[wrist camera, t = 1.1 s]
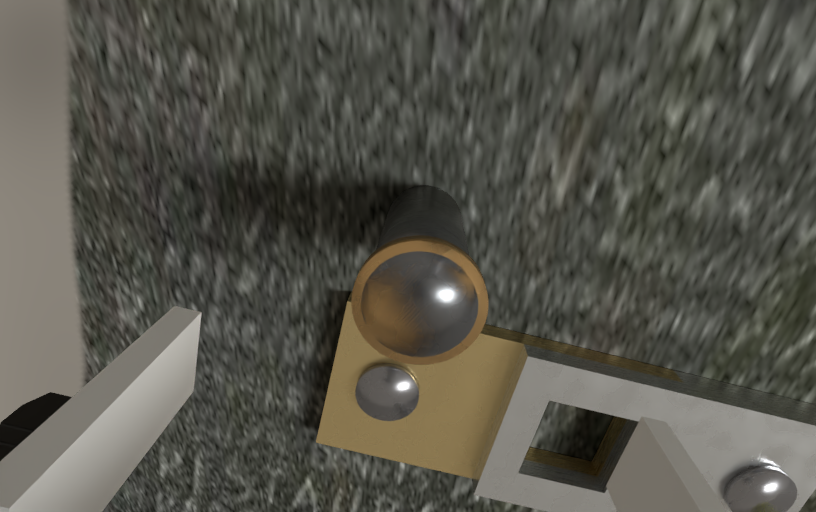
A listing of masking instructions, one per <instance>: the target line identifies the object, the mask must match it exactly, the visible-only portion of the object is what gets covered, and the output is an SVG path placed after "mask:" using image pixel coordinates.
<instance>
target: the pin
mask: <svg viewBox="0 0 816 512" xmlns="http://www.w3.org/2000/svg"><path fill="white" fill-rule="evenodd" d="M351 307H352V314H353V317H354V321H355V323H356V326H357V328H358V330H359V332H360V333H361V335H362V336H363V338H364V339H365V340H366V341H367V342H368V343H369V344H370V345H371V346H372V347H373V348H374V349H375V350H377V351H378V352H379V353H381V354H383V355H384V356H386V357H388V358H390V359H393V360H395V361H398V362H402V363H406V364H412V365H430V364H436V363H440V362H444V361H446V360H449V359H451V358H454V357H455V356H457V355H459V354H461V353H462V352H463V351H465V350H466V349H467V348H468V347H469V346H470V345H471V344H473V342H474V341H475V340H476V339H477V337H478V336H479V334H480V333H481V331H482V329H483V327H484V324H485V322H486V318H487V314H488V295H487V290H486V286H485V282H484V279H483V276H482V274H481V272H480V270H479V268H478V266H477V265H476V263H475V262H474V260H473V259H472V258H471V257H470V256H469V252H468V247H467V242H466V237H465V232H464V227H463V222H462V217H461V212H460V210H459V207H458V205H457V203H456V202H455V200H454V199H453V198H452V197H451V196H450V195H449V194H448V193H446V192H445V191H443V190H441V189H439V188H436V187H432V186H417V187H413V188H410V189H408V190H406V191H404V192H402V193H401V194H400V195H399V196H398V197H397V198H396V199H395V200H394V201H393V203H392V204H391V206H390V209H389V211H388V215H387V218H386V221H385V224H384V227H383V230H382V233H381V236H380V239H379V242H378V245H377V248H376V251H375V252H373V253H372V254H371V255H370V256H369V258H368V259H367V260H366V261H365V263H364V264H363V266H362V267H361V269H360V271H359V273H358V276H357V278H356V281H355V284H354V287H353V291H352V298H351Z"/></svg>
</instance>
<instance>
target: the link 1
mask: <svg viewBox="0 0 816 512" xmlns="http://www.w3.org/2000/svg"><path fill="white" fill-rule="evenodd" d="M351 298H352V292H351V293H350V296H349V298H348V301H347V305H346V310H345V314H344V319H343V323H342V328H341V332H340V337H339V341H338V346H337V350H336V355H335V359H334V364H333V368H332V373H331V377H330V382H329V386H328V391H327V395H326V399H325V404H324V408H323V413H322V417H321V422H320V426H319V431H318V435H317V440H316V443H320V444H325V445H329V446H333V447H338V448H342V449H346V450H351V451H355V452H360V453H364V454H368V455H373V456H377V457H381V458H386V459H390V460H394V461H399V462H403V463H407V464H412V465H416V466H420V467H425V468H429V469H433V470H438V471H442V472H447V473H451V474H455V475H460V476H464V477H468V478H472V477H473V475H474V472H475V470H476V467H477V464H478V462H479V459H480V457H481V454H482V451H483V449H484V446H485V444H486V441H487V438H488V436H489V433H490V431H491V428H492V425H493V423H494V420H495V418H496V415H497V412H498V410H499V407H500V405H501V402H502V399H503V397H504V394H505V392H506V389H507V386H508V384H509V381H510V379H511V376H512V373H513V371H514V368H515V366H516V363H517V360H518V358H519V355H520V353H521V350H522V347H523V345H524V344H526V345H530V346H534V347H538V348H542V349H546V350H551V351H555V352H559V353H563V354H567V355H571V356H575V357H579V358H584V359H588V360H592V361H596V362H600V363H604V364H608V365H612V366H617V367H621V368H625V369H629V370H633V371H637V372H641V373H645V374H650V375H654V376H658V377H662V378H666V379H670V380H674V381H678V382H683V381H682V380H681V379H680V378H679V376H678V375H677V374H676V373H675V372H674V370H671V369H667V368H663V367H659V366H655V365H651V364H646V363H642V362H638V361H634V360H630V359H626V358H622V357H618V356H614V355H610V354H605V353H601V352H597V351H593V350H589V349H585V348H581V347H577V346H573V345H568V344H564V343H560V342H556V341H552V340H548V339H544V338H540V337H536V336H531V335H527V334H523V333H519V332H515V331H511V330H507V329H503V328H499V327H495V326H490V325H486V324H484V327H483V329H482V331H481V333H480V334H479V336H478V337H477V339H476V340H475V341H474V342H473V344H471V345H470V346H469V347H468V348H467V349H466V350H465V351H463V352H462V353H461V354H459V355H457V356H455V357H454V358H451V359H449V360H446V361H444V362H440V363H436V364H430V365H412V364H406V363H402V362H398V361H395V360H393V359H390V358H388V357H386V356H384V355H383V354H381V353H379V352H378V351H377V350H375V349H374V348H373V347H372V346H371V345H370V344H369V343H368V342H367V341H366V340H365V339H364V338H363V336H362V335H361V333H360V332H359V330H358V328H357V326H356V323H355V321H354V317H353V314H352V307H351ZM626 420H627V419H626V418H621V417H617V416H614V417H613V419H612V421H611V423H610V425H609V427H608V429H607V432H606V434H605V436H604V438H603V440H602V442H601V444H600V446H599V448H598V450H597V452H596V454H595V456H594V458H593V460H592V461H588V460H584V459H579V458H575V457H571V456H566V455H562V454H558V453H554V452H549V451H545V450H541V449H537V448H532V447H529V449H528V451H527V453H526V456H525V458H524V460H529V461H533V462H537V463H542V464H546V465H550V466H554V467H559V468H563V469H567V470H572V471H576V472H580V473H585V474H589V475H593V476H597V477H598V476H599V474H600V472H601V470H602V468H603V466H604V464H605V462H606V460H607V458H608V456H609V454H610V452H611V450H612V448H613V446H614V444H615V442H616V440H617V438H618V436H619V434H620V432H621V430H622V428H623V426H624V424H625V422H626Z"/></svg>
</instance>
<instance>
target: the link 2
mask: <svg viewBox="0 0 816 512" xmlns="http://www.w3.org/2000/svg"><path fill="white" fill-rule="evenodd" d="M674 372H675V373H676V374H677V375H678V376H679V378H680V379H681V380H682V381H683V382H678V381H674V380H670V379H666V378H662V377H658V376H654V375H650V374H645V373H641V372H637V371H633V370H629V369H625V368H621V367H617V366H612V365H608V364H604V363H600V362H596V361H592V360H588V359H584V358H579V357H575V356H571V355H567V354H563V353H559V352H555V351H551V350H546V349H542V348H538V347H534V346H530V345H526V344H524V345H523V347H522V350H521V353H520V355H519V358H518V360H517V363H516V366H515V368H514V371H513V373H512V376H511V379H510V381H509V384H508V386H507V389H506V392H505V394H504V397H503V399H502V402H501V405H500V407H499V410H498V412H497V415H496V418H495V420H494V423H493V425H492V428H491V431H490V433H489V436H488V438H487V441H486V444H485V446H484V449H483V451H482V454H481V457H480V459H479V462H478V464H477V467H476V470H475V472H474V475H473V477H472V482H473V492H474V495H477V496H482V497H486V498H491V499H495V500H499V501H504V502H508V503H512V504H517V505H521V506H526V507H530V508H534V509H539V510H543V511H547V512H617V510H616V508H615V505H614V503H613V501H612V498H611V496H610V494H609V491H608V489H607V487H606V485H607V483H608V481H609V479H610V477H611V475H612V473H613V471H614V469H615V467H616V465H617V463H618V461H619V459H620V457H621V455H622V454H623V452H624V450H625V448H626V446H627V444H628V442H629V440H630V438H631V436H632V434H633V432H634V430H635V428H636V426H637V424H638V422H639V420H640V418H641V416H643V417H647V418H651V419H655V420H660V421H664V422H667V424H668V425H669V427H670V428H671V430H672V431H673V433H674V434H675V436H676V437H677V439H678V440H679V442H680V443H681V444H682V446H683V447H684V449H685V450H686V452H687V453H688V455H689V456H690V458H691V459H692V461H693V462H694V464H695V465H696V466H697V468H698V469H699V471H700V472H701V474H702V475H703V477H704V478H705V480H706V481H707V483H708V484H709V486H710V487H711V489H712V490H713V491H714V493H715V494H716V496H717V497H718V499H719V500H720V502H721V503H722V505H723V506H724V508H725V509H726V511H727V512H799V511H800V509H801V508H802V506H803V505H804V504H805V502H806V501H807V500H808V498H809V497H810V495H811V494H812V493H813V491H814V490H815V489H816V405H815V404H811V403H807V402H803V401H798V400H794V399H790V398H786V397H782V396H778V395H774V394H770V393H766V392H761V391H757V390H753V389H749V388H745V387H741V386H737V385H733V384H729V383H724V382H720V381H716V380H712V379H708V378H704V377H700V376H696V375H692V374H688V373H683V372H679V371H675V370H674ZM549 400H550V401H554V402H558V403H563V404H567V405H571V406H575V407H579V408H584V409H588V410H592V411H596V412H600V413H605V414H609V415H613V416H617V417H621V418H626V419H627V420H626V422H625V424H624V426H623V428H622V430H621V432H620V434H619V436H618V438H617V440H616V442H615V444H614V446H613V448H612V450H611V452H610V454H609V456H608V458H607V460H606V462H605V464H604V466H603V468H602V470H601V472H600V474H599V476H598V477H597V476H593V475H589V474H585V473H580V472H576V471H572V470H567V469H563V468H559V467H554V466H550V465H546V464H542V463H537V462H533V461H529V460H524V458H525V456H526V453H527V451H528V449H529V446H530V444H531V442H532V439H533V437H534V435H535V432H536V430H537V428H538V425H539V423H540V421H541V418H542V416H543V414H544V411H545V409H546V406H547V404H548V402H549Z"/></svg>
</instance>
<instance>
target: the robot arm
mask: <svg viewBox="0 0 816 512" xmlns="http://www.w3.org/2000/svg"><path fill="white" fill-rule="evenodd" d="M200 321H201V312H198V311H194V310H189V309H185V308H181V307H177V306H174V307H173V308H172V309H171V310H170V311H168V312H167V313H166V314H165V315H164V316H163V317H162V318H161V319H159V320H158V321H157V322H156V323H155V324H154V325H153V326H152V327H150V328H149V329H148V330H147V331H146V332H145V333H144V334H143V335H142V336H140V337H139V338H138V339H137V340H136V341H135V342H134V343H133V344H131V345H130V346H129V347H128V348H127V349H126V350H125V351H124V352H122V353H121V354H120V355H119V356H118V357H117V358H116V359H115V360H113V361H112V362H111V363H110V364H109V365H108V366H107V367H106V368H104V369H103V370H102V371H101V372H100V373H99V374H98V375H97V376H95V377H94V378H93V379H92V380H91V381H90V382H89V383H88V384H86V385H85V386H84V387H83V388H82V389H81V390H80V391H79V392H77V393H76V394H75V395H74V396H73V397H69V396H64V395H60V394H56V393H51V392H50V393H48V394H46V395H43V396H41V397H39V398H37V399H35V400H32V401H30V402H28V403H26V404H24V405H22V406H21V407H19V408H18V409H17V410H16V411H14V412H13V413H12V414H11V415H9V416H8V417H7V418H6V419H4V420H3V421H2V422H1V424H0V512H102V511H103V509H104V508H105V507H106V506H107V504H108V503H109V502H110V500H111V499H112V498H113V496H114V495H115V494H116V492H117V491H118V490H119V488H120V487H121V486H122V484H123V483H124V482H125V481H126V479H127V478H128V477H129V475H130V474H131V473H132V471H133V470H134V469H135V467H136V466H137V465H138V463H139V462H140V461H141V459H142V458H143V457H144V455H145V454H146V453H147V452H148V450H149V449H150V448H151V446H152V445H153V444H154V442H155V441H156V440H157V438H158V437H159V436H160V434H161V433H162V432H163V430H164V429H165V428H166V427H167V425H168V424H169V423H170V421H171V420H172V419H173V417H174V416H175V415H176V413H177V412H178V411H179V409H180V408H181V407H182V405H183V404H184V403H185V401H186V400H187V399H188V398H189V396H190V395H191V394H192V392H193V390H194V380H195V371H196V361H197V351H198V341H199V331H200ZM606 487H607V489H608V491H609V494H610V496H611V498H612V501H613V503H614V505H615V508H616V510H617V512H727V511H726V509H725V508H724V506H723V505H722V503H721V502H720V500H719V499H718V497H717V496H716V494H715V493H714V491H713V490H712V489H711V487H710V486H709V484H708V483H707V481H706V480H705V478H704V477H703V475H702V474H701V472H700V471H699V469H698V468H697V466H696V465H695V464H694V462H693V461H692V459H691V458H690V456H689V455H688V453H687V452H686V450H685V449H684V447H683V446H682V444H681V443H680V442H679V440H678V439H677V437H676V436H675V434H674V433H673V431H672V430H671V428H670V427H669V425H668V424H667V422H664V421H660V420H655V419H651V418H647V417H643V416H641V418H640V420H639V422H638V424H637V426H636V428H635V430H634V432H633V434H632V436H631V438H630V440H629V442H628V444H627V446H626V448H625V450H624V452H623V454H622V455H621V457H620V459H619V461H618V463H617V465H616V467H615V469H614V471H613V473H612V475H611V477H610V479H609V481H608V483H607V485H606Z"/></svg>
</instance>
